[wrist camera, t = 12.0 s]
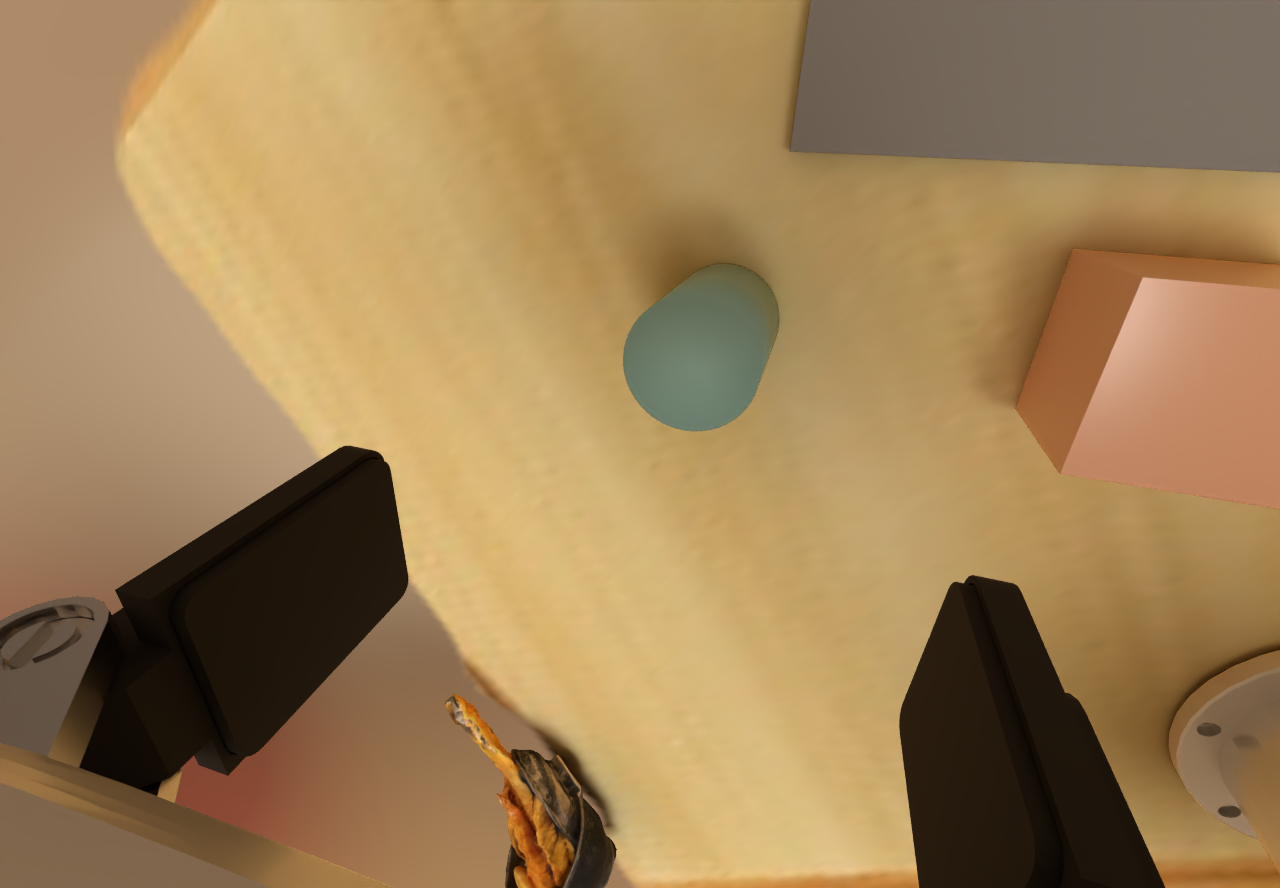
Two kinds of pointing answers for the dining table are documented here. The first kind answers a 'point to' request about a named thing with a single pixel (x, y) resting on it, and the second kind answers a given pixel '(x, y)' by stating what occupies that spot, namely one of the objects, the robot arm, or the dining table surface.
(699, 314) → the cylinder
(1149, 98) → the board
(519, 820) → the black and orange piece
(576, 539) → the dining table surface
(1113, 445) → the block
